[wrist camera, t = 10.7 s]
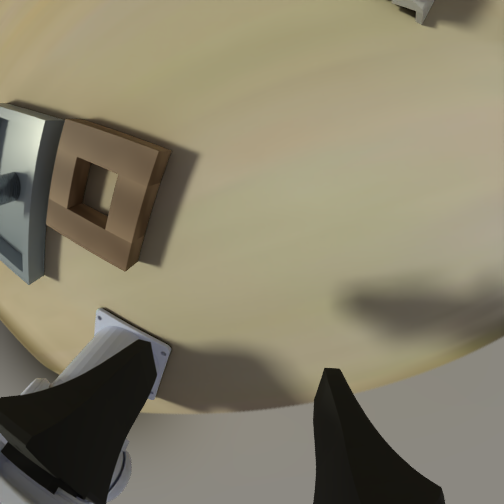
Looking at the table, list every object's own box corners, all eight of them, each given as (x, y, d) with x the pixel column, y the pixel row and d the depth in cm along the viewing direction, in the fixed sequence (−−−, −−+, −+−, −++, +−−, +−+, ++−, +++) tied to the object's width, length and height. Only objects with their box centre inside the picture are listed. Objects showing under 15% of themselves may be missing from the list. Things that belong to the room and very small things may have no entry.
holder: (137, 261, 21) (125, 271, 19) (60, 218, 21) (45, 224, 19) (171, 150, 18) (158, 151, 16) (81, 119, 17) (65, 118, 15)
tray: (44, 275, 23) (28, 285, 21) (-9, 231, 23) (-23, 237, 21) (65, 120, 17) (45, 120, 15) (6, 103, 17) (-11, 103, 15)
